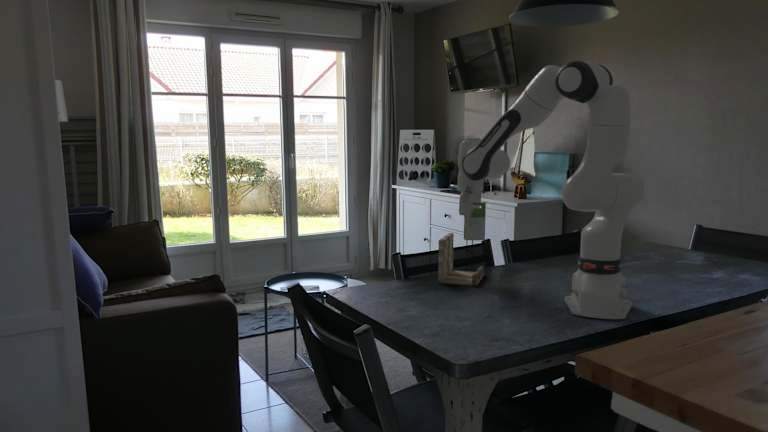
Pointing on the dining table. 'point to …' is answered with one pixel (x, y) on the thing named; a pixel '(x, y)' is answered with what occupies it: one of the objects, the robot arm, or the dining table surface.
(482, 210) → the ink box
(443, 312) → the dining table surface
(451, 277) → the board
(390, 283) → the dining table surface
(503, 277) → the dining table surface
